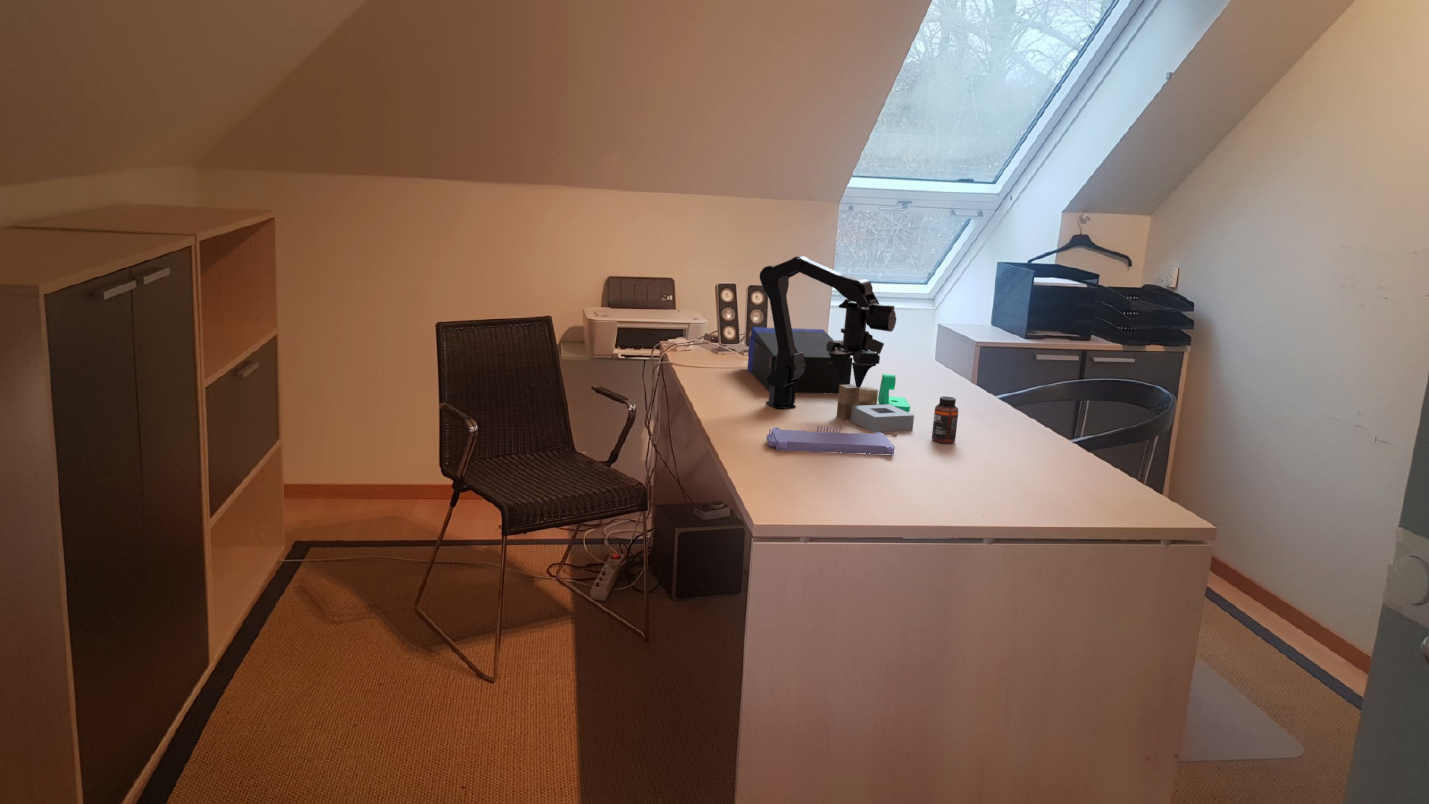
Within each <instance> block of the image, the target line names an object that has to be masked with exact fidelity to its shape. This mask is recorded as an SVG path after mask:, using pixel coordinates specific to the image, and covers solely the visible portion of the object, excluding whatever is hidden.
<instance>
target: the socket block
mask: <svg viewBox="0 0 1429 804" xmlns="http://www.w3.org/2000/svg"><path fill="white" fill-rule="evenodd" d="M914 420H915V414H912V413H910V412H906V411H903V410H901V409H899V408H897V407H894V406H892V405H890V404H887V405H879V404H877V405H862V406H852V407H851V418H850V420H849V421H851V422H853V423H854V424H857V425H858V426H861V427H863V428H865V427H866V428H865V429H867V430H869V431H871V432H873V433H875V432H880V433H882V432H899V431H913V429H914V422H915V421H914Z"/></svg>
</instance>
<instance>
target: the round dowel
mask: <svg viewBox="0 0 1429 804" xmlns="http://www.w3.org/2000/svg"><path fill="white" fill-rule="evenodd" d="M859 388H860V391H859V401H858V406H862V405H878V395H879V389H877V388H874V387H869V386H862V387H859Z"/></svg>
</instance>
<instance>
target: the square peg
mask: <svg viewBox="0 0 1429 804" xmlns="http://www.w3.org/2000/svg"><path fill="white" fill-rule="evenodd" d="M859 391H860V388H857V387H856V384H853V383H852V384H851V383H850V385H839V394H837V395H838V396H837V406H836V418H838V419H839V418H840V420H842V421H844V422H846V420H848V421H851V420H850V418H851V407H852V406H858V401H859Z"/></svg>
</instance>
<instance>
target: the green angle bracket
mask: <svg viewBox="0 0 1429 804" xmlns="http://www.w3.org/2000/svg"><path fill="white" fill-rule="evenodd" d="M896 377H897V376H896V374H892V373H883V374H882V376H881V381H880V386H879V389H878V397H877V403H878V405H887V404H890V405H892V406H894V407H897V408H899V409H901V410H903V411H906V412H908V413H910V411H911V406H910V404H909V402H908V400H907V398H905V397H903V396H890V390H891V391H894V390H895V388H896Z"/></svg>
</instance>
